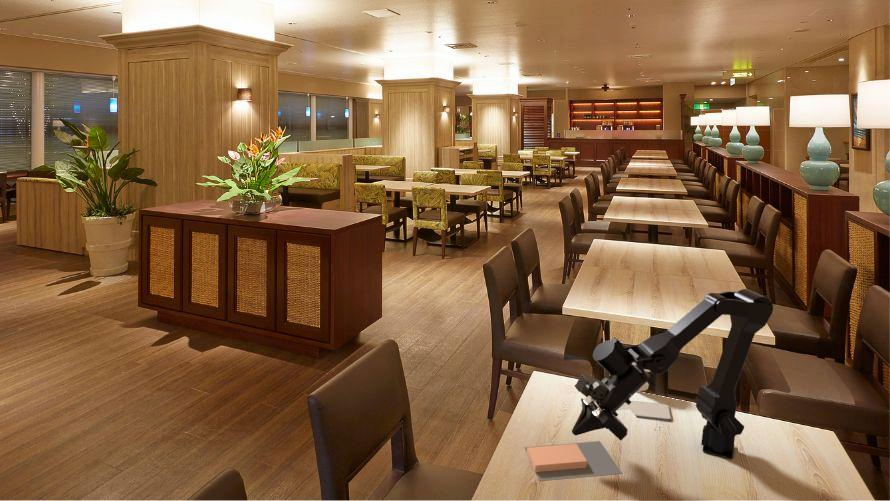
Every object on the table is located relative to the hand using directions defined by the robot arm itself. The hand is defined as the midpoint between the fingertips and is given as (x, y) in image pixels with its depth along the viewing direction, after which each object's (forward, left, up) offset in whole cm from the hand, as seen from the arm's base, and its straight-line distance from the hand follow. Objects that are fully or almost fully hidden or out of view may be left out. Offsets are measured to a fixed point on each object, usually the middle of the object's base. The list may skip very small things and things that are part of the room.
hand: (573, 433), depth 129 cm
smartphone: (-9, -32, -8) cm, 34 cm away
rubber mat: (0, 0, -7) cm, 7 cm away
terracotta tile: (-2, -1, -6) cm, 6 cm away
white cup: (-5, -46, -8) cm, 47 cm away
